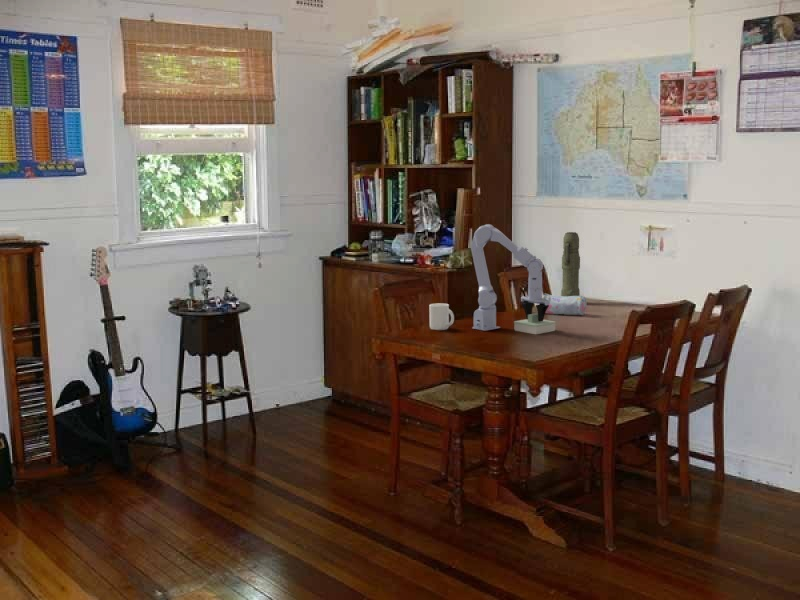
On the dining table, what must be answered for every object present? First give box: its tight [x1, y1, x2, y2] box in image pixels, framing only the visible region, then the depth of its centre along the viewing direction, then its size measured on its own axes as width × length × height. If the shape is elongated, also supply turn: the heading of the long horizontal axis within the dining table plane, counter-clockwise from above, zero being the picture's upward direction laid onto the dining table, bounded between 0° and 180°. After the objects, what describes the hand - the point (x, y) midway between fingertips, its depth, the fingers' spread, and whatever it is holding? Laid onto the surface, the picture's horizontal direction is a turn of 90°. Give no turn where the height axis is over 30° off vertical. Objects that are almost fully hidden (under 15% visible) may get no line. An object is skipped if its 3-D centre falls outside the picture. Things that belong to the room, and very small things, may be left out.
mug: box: [428, 302, 455, 331], centre depth 397 cm, size 12×8×10 cm
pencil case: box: [538, 293, 588, 316], centre depth 429 cm, size 21×9×10 cm, turn 61°
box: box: [513, 322, 556, 335], centre depth 391 cm, size 12×12×3 cm
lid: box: [513, 312, 557, 327], centre depth 391 cm, size 12×12×5 cm
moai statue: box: [560, 231, 581, 296], centre depth 457 cm, size 9×12×35 cm
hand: (534, 320), depth 391 cm, fingers open, 6 cm apart
